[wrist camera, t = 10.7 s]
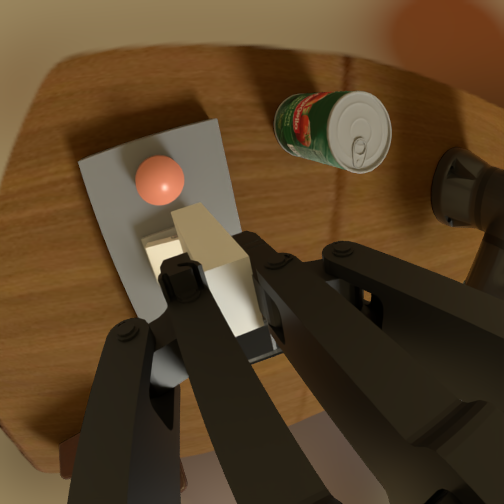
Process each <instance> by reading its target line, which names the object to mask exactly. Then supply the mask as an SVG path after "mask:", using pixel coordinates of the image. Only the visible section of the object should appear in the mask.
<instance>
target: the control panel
mask: <svg viewBox="0 0 504 504" xmlns="http://www.w3.org/2000/svg"><path fill="white" fill-rule="evenodd" d="M154 155H165V156H168V157H170V158H171V159H173V160H174V161H175V162H176V163H178V165H179V166H180V167H181V169H182V171H183V174H184V186H183V189H182V191H181V193H180V195H179V196H178V197H177V198H176V199H175V200H174V201H172V202H170V203H168V204H165V205H152V204H150V203H148V202H146V201H144V200H143V199H142V198H141V196H140V195H139V193H138V191H137V188H136V182H135V175H136V171H137V169H138V167H139V165H140V164H141V163H142V162H143V161H144V160H145V159H147V158H148V157H151V156H154ZM78 164H79V167H80V170H81V173H82V177H83V180H84V183H85V186H86V189H87V192H88V195H89V198H90V201H91V204H92V207H93V210H94V212H95V215H96V218H97V221H98V223H99V226H100V229H101V231H102V234H103V237H104V239H105V242H106V244H107V247H108V249H109V252H110V254H111V257H112V259H113V262H114V264H115V267H116V269H117V271H118V274H119V276H120V278H121V281H122V283H123V285H124V287H125V290H126V292H127V294H128V296H129V299H130V301H131V303H132V305H133V307H134V309H135V311H136V313H137V316H138V318H141V319H145V320H146V321H147V322H148V324H149V323H150V322H152V321H154V320H155V319H157V318H158V317H160V316H161V315H162V314H163V313H164V312H165V310H166V309H167V302H166V300H165V298H164V295H163V293H162V290H161V287H160V286H159V283H158V281H157V278H156V275H155V273H154V270H153V267H152V265H151V262H150V259H149V257H148V254H147V251H146V245H147V243H149V242H153V241H156V240H160V239H164V238H168V237H171V236H173V235H175V234H177V231H176V228H175V225H174V221H173V218H172V215H171V212H172V211H175V210H178V209H181V208H184V207H187V206H190V205H193V204H196V203H200V202H201V203H202V204H203V206H204V207H205V208H206V209H207V210H208V211H209V212H210V213H211V214H212V216H213V217H214V218H215V219H216V220H217V221H218V222H219V223H220V224H221V226H222V227H223V228H224V229H225V230H226V231H227V232H228V233H229V234H230V236H232V235H235V234H238V233H241V232H242V231H241V226H240V222H239V217H238V212H237V208H236V203H235V199H234V194H233V190H232V185H231V180H230V176H229V171H228V167H227V162H226V157H225V153H224V148H223V144H222V139H221V134H220V130H219V125H218V120H217V119H207V120H203V121H199V122H195V123H191V124H187V125H183V126H179V127H176V128H172V129H169V130H165V131H162V132H158V133H155V134H152V135H148V136H145V137H142V138H139V139H136V140H133V141H130V142H126V143H124V144H121V145H118V146H115V147H112V148H109V149H106V150H103V151H101V152H98V153H95V154H93V155H90V156H87V157H85V158H82V159H81V160H80V161H78Z"/></svg>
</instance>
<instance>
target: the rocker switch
mask: <svg viewBox="0 0 504 504" xmlns="http://www.w3.org/2000/svg"><path fill="white" fill-rule="evenodd" d="M146 251H147V254H148V257H149V259H150V262H151V265H152V267H153V270H154V273H155V275H156V278H157V281H158V275H159V274H160V273H161V271H160V266H161V264H162V262H163V260H165V259H168V258H171V257H174V256H177V255H179V254H182V253H183V251H182V247H181V244H180V241H179V238H178V235H177V234H175V235H173V236H171V237H168V238H164V239H160V240H156V241H153V242H149V243H147V245H146ZM158 283H159V282H158ZM159 286H160V285H159Z"/></svg>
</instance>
